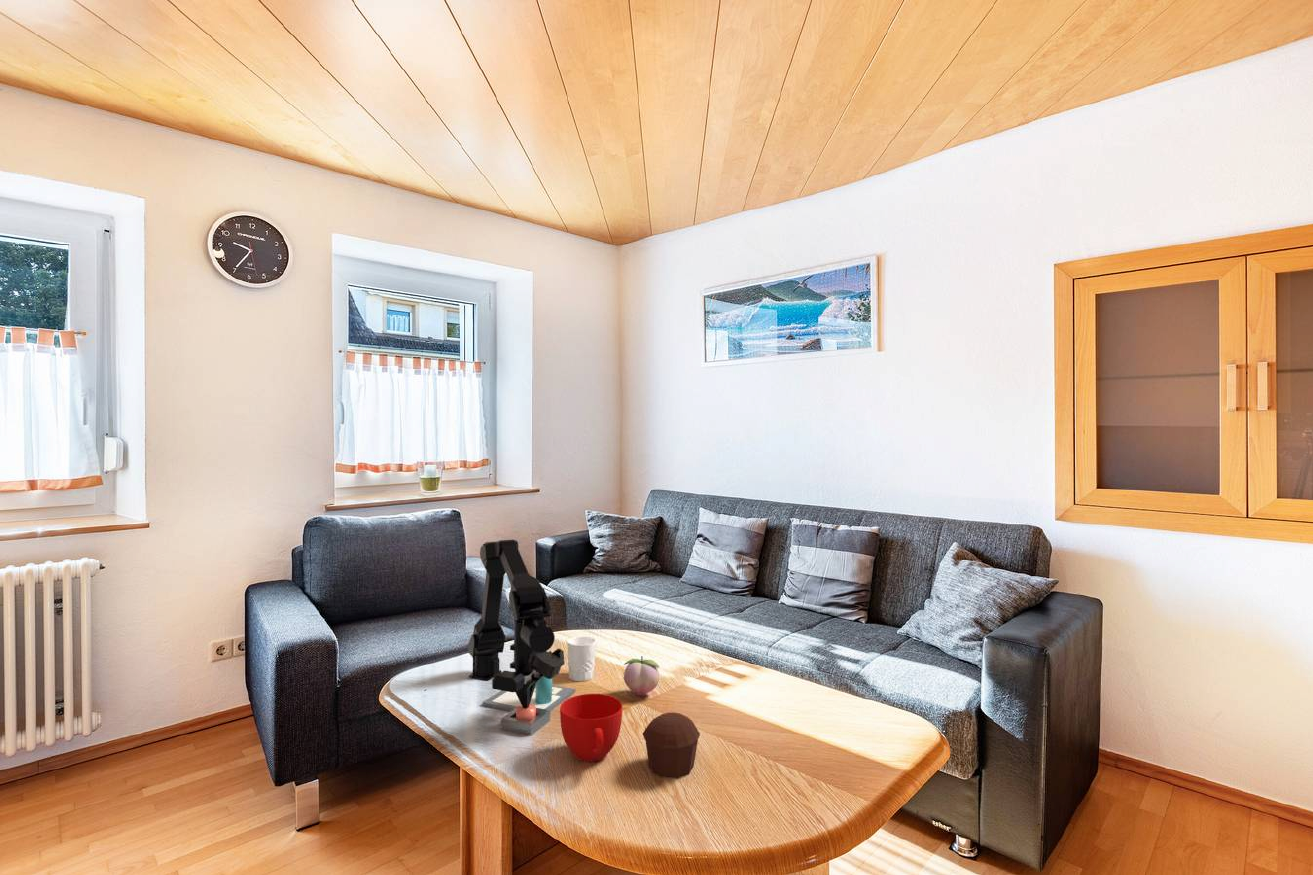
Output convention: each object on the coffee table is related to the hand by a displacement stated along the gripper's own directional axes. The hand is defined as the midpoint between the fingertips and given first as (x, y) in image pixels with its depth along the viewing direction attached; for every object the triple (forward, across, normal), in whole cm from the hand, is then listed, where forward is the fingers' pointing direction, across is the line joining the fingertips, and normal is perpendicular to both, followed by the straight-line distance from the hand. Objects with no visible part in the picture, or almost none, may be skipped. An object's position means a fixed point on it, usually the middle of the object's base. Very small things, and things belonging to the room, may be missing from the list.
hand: (525, 707), depth 145 cm
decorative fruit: (+4, +26, -18) cm, 32 cm away
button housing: (+4, 0, 0) cm, 4 cm away
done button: (+4, 0, 0) cm, 4 cm away
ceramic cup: (+4, -8, -21) cm, 23 cm away
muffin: (+4, -5, -37) cm, 38 cm away
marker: (+3, +11, +2) cm, 12 cm away
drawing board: (+4, +13, +7) cm, 15 cm away
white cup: (+4, +31, +2) cm, 31 cm away
